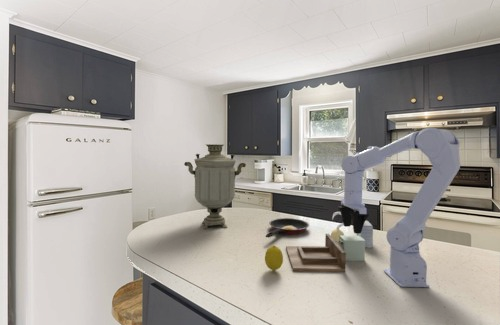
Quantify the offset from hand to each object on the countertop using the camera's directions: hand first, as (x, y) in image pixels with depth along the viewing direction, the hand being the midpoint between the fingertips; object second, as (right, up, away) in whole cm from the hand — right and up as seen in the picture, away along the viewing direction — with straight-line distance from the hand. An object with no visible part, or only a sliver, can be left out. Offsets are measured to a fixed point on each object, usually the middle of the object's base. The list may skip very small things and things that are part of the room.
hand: (352, 229), depth 89 cm
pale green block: (0, -10, 0) cm, 10 cm away
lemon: (-28, -10, -10) cm, 32 cm away
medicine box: (+10, -10, +13) cm, 19 cm away
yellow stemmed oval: (+1, -9, +17) cm, 20 cm away
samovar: (-52, -8, +40) cm, 67 cm away
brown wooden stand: (-14, -10, -1) cm, 17 cm away
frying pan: (-21, -9, +26) cm, 34 cm away
